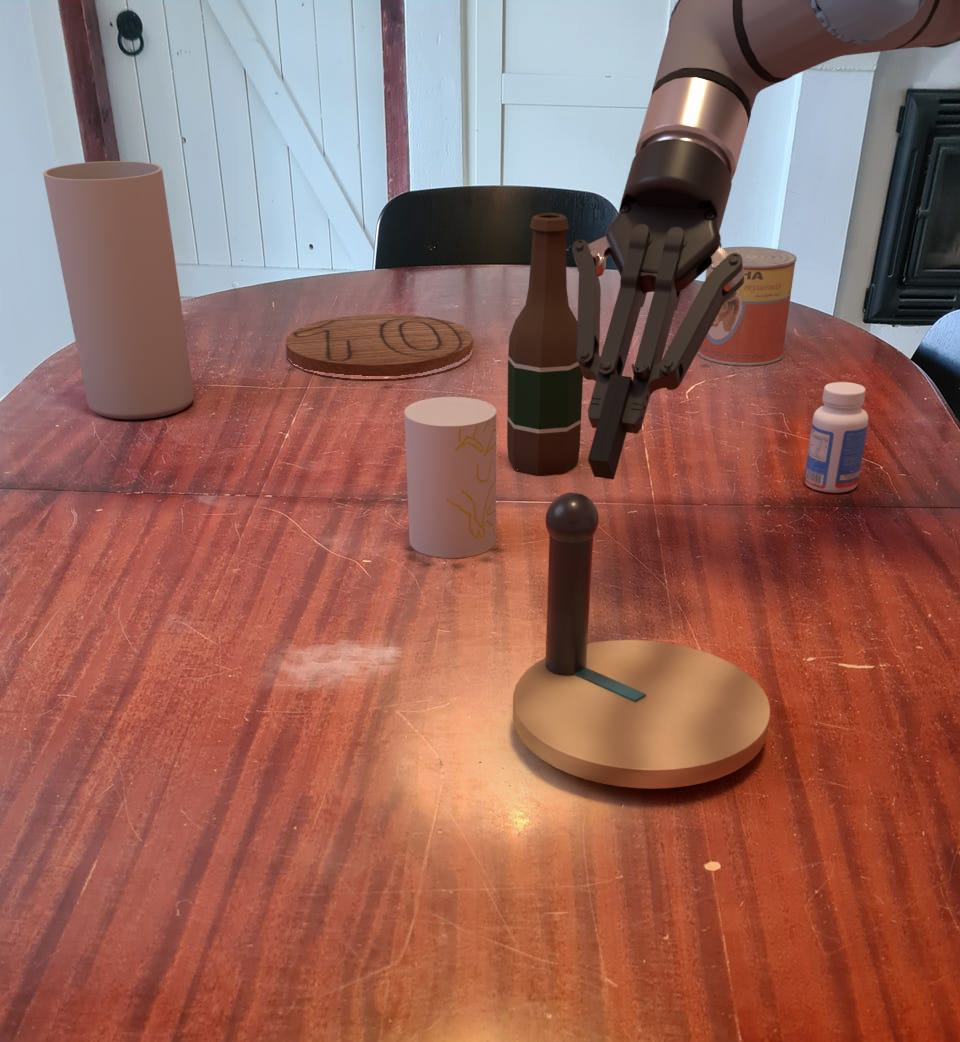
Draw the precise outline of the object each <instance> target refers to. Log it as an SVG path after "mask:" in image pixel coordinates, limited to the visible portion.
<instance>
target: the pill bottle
mask: <svg viewBox="0 0 960 1042" xmlns="http://www.w3.org/2000/svg"><path fill="white" fill-rule="evenodd" d="M866 390H867V389H866V387H865V386H863V385H862V384H859V383H855V382H848V381H836V382H835V381H834V382H830V383H827V384H826V385H824V386H823V393H822V397H821V399H822V403H823V405H821V406H820V407H818V408H817V409H816V410H815V411H814V413H813V415H812V421H811V428H810V435H809V444H808V451H807V458H806V464H805V471H804V483H805V485H806V486H807V487H809V488H810V489H811V490H815V491H817V492H822V493H828V494H843V493H847V492H851V491H853V490H855V488H857V486H858V485H859V480H860V474H861V469H862V468H861V467H862V462H863V455H864V450H865V446H866V445H865V444H866V439H867V432H868V427H869V414H868V413H867V411H866V410H865V409H863V408H862V406H863V405H864V404H865V398H866Z"/></svg>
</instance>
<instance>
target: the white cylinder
mask: <svg viewBox="0 0 960 1042" xmlns="http://www.w3.org/2000/svg"><path fill="white" fill-rule="evenodd" d="M403 413H404V414H403V416H404V439H405V440H404V441H405V443H404V444H405V465H406V489H407V493H406V494H407V513H408V540H409V545H410V546H411V548H412V549H413V550H414V551H416V552H418V553H420V554H422V555H425V556H429V557H433V558H440V559H441V558H443V559H462V558H469V557H474V556H478V555H482V554H485V553H486V552H488V551H489V550H491V549H492V548H493V547H494V546H495V545H496V543H497V408H496V407H495V405H493V404H491V403H490V402H488V401H484V400H483V399H482V400H481V399H478V398H472V397H464V396H439V397H431V398H425V399H422V400H418V401H415V402H412V403H410V404H409V405H407V406H406V407H405V409H404V411H403Z"/></svg>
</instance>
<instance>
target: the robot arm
mask: <svg viewBox="0 0 960 1042" xmlns="http://www.w3.org/2000/svg"><path fill="white" fill-rule="evenodd" d="M664 42H665V43H664V46H663V49H662V53H661V57H660V60H659V64H658V67H657V71H656V75H655V79H654V83H653V86H652V90H651V96H650V99H649V102H648V105H647V109H646V111H645V114H644V119H643V123H642V125H641V128H640V132H639V136H638V140H637V143H636V146H635V155H634V157H633V159H632V161H631V164H630V169H629V172H628V175H627V180H626V183H625V186H624V190H623V194H622V197H621V201H620V205H619V209H618V213H617V215H616V216H615V218H614V219H613V221H612V222H611V223H610V224H609V225H608V226H607V229H606V232H605V236H603V237H600V238H599V239H596V240H594V241H592V242H589V243H588V242H587V241H586V240H585V239H581V238H579V239H576V240H575V241H574V242H573V243H572V245H571V252H572V255H573V258H574V262H575V265H576V269H577V271H578V292H577V322H578V325H577V359H578V362H579V365H580V368H581V371H582V374H583V379H585V380H588V381H595V382H594V383H595V384H594V387H593V391H592V394H591V398H590V401H589V402H590V403H589V405H588V408H587V417H588V420H589V424H590V426H591V428H592V429H593V428H594V429H595V431H594V435H593V438H592V443H591V446H590V450H589V453H588V456H587V462H588V464H589V467H590V470H591V472H592V474H593V477H594V478H601V479H607V480H615V477H616V474H617V469H618V465H619V462H620V459H621V455H622V451H623V447H624V444H625V440H626V436H627V434H636V435H638V434H639V432H640V431H641V429H642V427H643V424H644V421H645V416H646V413H647V409H648V406H649V402H650V399H651V396H652V394H654V393H655V392H656V391H658V390H662V389H666V390H669V391H674V390H677V389H678V388H679V387H680V386H681V383H682V381H683V380H684V378H685V376H686V374H687V372H688V371H689V368H690V367H691V365H692V362H693V361H694V359H695V358H696V355H698V350H699V348H700V346H701V345H702V343H703V341H704V339H705V337H706V335H707V333H708V332H709V330H710V328H711V326H712V324H713V322H714V321H715V319H716V317H717V315H718V313H719V311H720V309H721V308H722V306H723V304H724V302H725V301H726V300H727V299H728V298H729V297H731V296H732V295H733V294H734V293H735V292H736V291H737V290H738V289H739V288H740V287H741V286H742V285H743V283H744V271H743V261H742V256H741V255H740V254H738V253H732V254H728V253H727V252H726V251H725V250H724V249H722V248H723V246H722V242H721V241H722V240H721V239H722V238H721V234H720V231H721V227H722V223H723V220H724V216H725V212H726V209H727V206H728V201H729V197H730V194H731V191H732V186H733V185H732V184H733V179H734V176H735V174H736V171H737V167H738V163H739V160H740V156H741V153H742V149H743V145H744V141H745V138H746V134H747V131H748V127H749V125H750V124H749V123H750V120H751V117H752V116H751V115H752V111H753V107H754V104H755V101H756V99H757V96H758V94H759V93H760V92H761V91H763V90H765V89H767V88H769V87H772V86H774V85H776V84H779V83H782V82H784V81H786V80H788V79H791V78H792V77H793V76H795V75H798V74H800V73H802V72H805V71H808V70H810V69H812V68H814V67H816V66H819V65H821V64H823V63H825V62H829V61H831V60H833V59H836V58H839V57H845V56H853V55H862V54H871V53H878V52H879V53H880V52H887V51H893V50H904V49H916V48H931V49H938V48H943V47H947V46H949V45H953V44H955V43H958V42H960V0H677V1H676V2H675V3H674V6H673V10H672V11H671V13H670V17H669V21H668V30H667V34H666V37H665V41H664ZM610 256H611V258H612V260H613V262H614V265H615V267H616V269H617V271H618V274H619V276H620V281H619V283H620V284H619V290H618V294H617V297H616V301H615V304H614V307H613V311H612V315H611V319H610V321H609V326H608V329H607V333H606V336H605V340H604V344H603V347H602V350H601V354H600V339H601V337H600V334H601V303H602V302H601V301H602V299H601V298H602V297H601V296H602V289H601V282H600V278H599V277H601V276H603V275H604V273H605V270H606V268H607V260H608V258H609V257H610ZM707 268H708V277H707V278H706V277H705V279H706V280H705V279H704V281H703V283H702V285H701V287H700V289H699V290H698V292H697V294H696V296H695V298H694V300H693V301H692V303H691V305H690V307H689V309H688V311H687V313H686V315H685V317H684V318H683V320H682V322H681V323H680V326H679V327H678V329H677V331H676V333H675V335H674V337H673V338H672V340H671V342H670V344H669V345H668V348H667V349H666V345H667V341H668V338H669V335H670V330H671V327H672V323H673V319H674V316H675V312H676V311H677V310H678V307H679V304H680V300H681V296H682V292H683V290H685V289H686V288H687V287H689V286H690V285H691V284H692V283H693V282H695V280H696V279H698V278H699V277H700V276H701V275H702V274H703V273H704V272H706V269H707ZM652 292H653V294H652V298H651V303H650V307H649V309H648V313H647V317H646V321H645V324H644V328H643V332H642V336H641V339H640V343H639V346H638V350H637V355H636V357H635V362H634V363H631V369H632V373H633V376H628V375H627V376H626V375H624V374H623V373H624V370H625V366H626V363H627V360H628V356H629V351H630V348H631V345H632V342H633V337H634V334H635V330H636V327H637V324H638V319H639V316H640V314H641V313H640V312H641V308H643V307H644V305H645V303H646V298H647V294H648V293H652ZM665 349H666V351H665Z"/></svg>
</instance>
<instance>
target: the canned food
mask: <svg viewBox="0 0 960 1042" xmlns="http://www.w3.org/2000/svg"><path fill="white" fill-rule="evenodd" d="M722 249H724V250H725V251H726V252H727V253H728V254H732V253H738V254H740V255H741V256H742V261H743V271H744V283H743V285H742V286H741V287H740V288H739V289H738V290H737V291H736V292H735V293H734V294H733V295H732V296H731V297H729V298H728V299H727V300H726V301H725V302H724V304H723V306H722V308H721V309H720V311H719V313H718V315H717V317H716V319H715V321H714V322H713V324H712V326H711V328H710V330H709V332H708V333H707V335H706V337H705V339H704V341H703V343H702V345H701V346H700V348H699V350H698V352H697V355H698V356H699V357H701V358H703V359H704V360H707V361H710V362H711V363H717V364H722V365H728V366H741V367H753V366H755V367H756V366H764V365H770V364H773V363H776V362H778V361H780V360H782V359H783V357H784V347H785V339H786V332H787V325H788V318H789V311H790V303H791V296H792V289H793V281H794V274H795V266H796V262H797V258H798V257H797V256H796V255H795V254H794V253H792V252H789V251H786V250H784V249H783V250H782V249H778V248H777V249H776V248H772V247H763V246H762V247H761V246H728V247H722ZM707 277H708V268H707V269H706V270H705V279H704V281H705V280H706V278H707Z"/></svg>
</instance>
